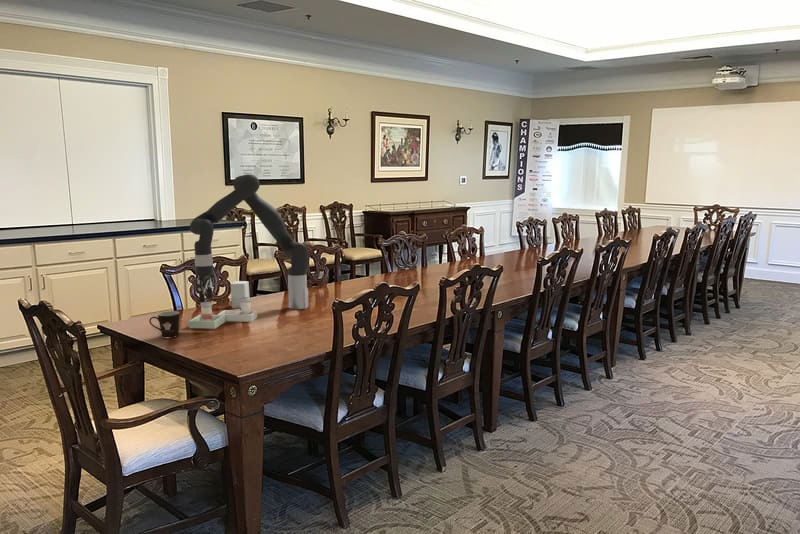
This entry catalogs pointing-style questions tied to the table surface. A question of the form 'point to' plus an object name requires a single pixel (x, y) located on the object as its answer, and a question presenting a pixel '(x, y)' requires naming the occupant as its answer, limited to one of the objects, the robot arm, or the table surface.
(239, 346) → the table surface
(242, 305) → the fuse
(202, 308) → the marked fuse
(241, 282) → the supplement box
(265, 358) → the table surface
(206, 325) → the tray
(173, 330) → the coffee mug
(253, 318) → the fuse block
